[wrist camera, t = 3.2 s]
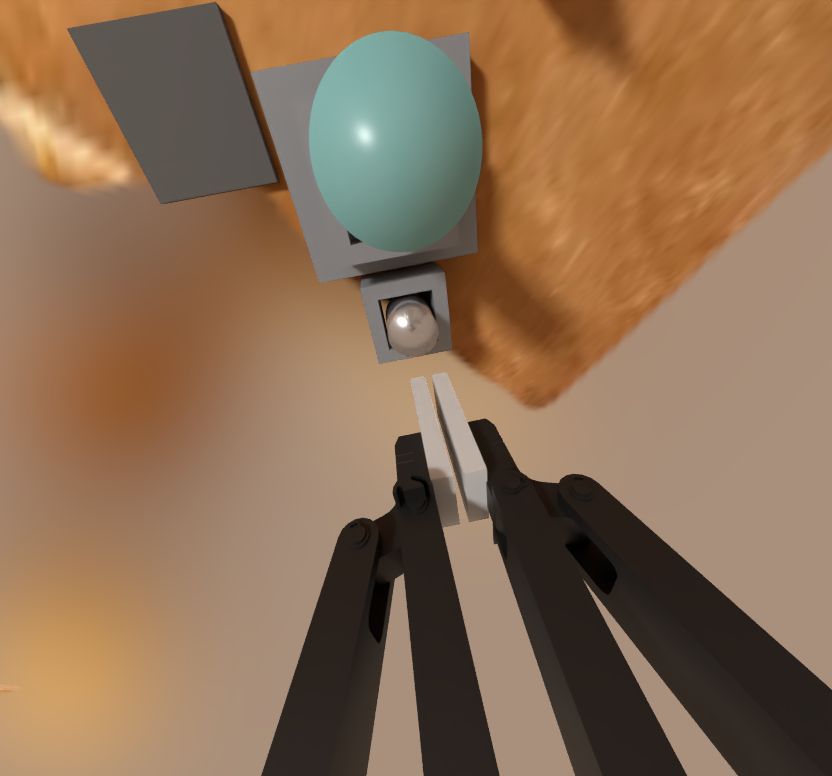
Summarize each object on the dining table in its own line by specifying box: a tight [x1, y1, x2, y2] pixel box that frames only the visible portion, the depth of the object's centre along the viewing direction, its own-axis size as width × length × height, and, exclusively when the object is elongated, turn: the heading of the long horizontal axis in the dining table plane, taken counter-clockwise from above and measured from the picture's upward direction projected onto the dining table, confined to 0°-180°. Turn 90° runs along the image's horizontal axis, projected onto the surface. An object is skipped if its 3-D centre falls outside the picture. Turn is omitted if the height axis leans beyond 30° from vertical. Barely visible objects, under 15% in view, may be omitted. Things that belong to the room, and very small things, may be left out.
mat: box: [67, 2, 279, 204], centre depth 20 cm, size 9×9×1 cm
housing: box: [251, 32, 478, 364], centre depth 23 cm, size 20×14×6 cm
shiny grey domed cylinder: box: [386, 293, 439, 357], centre depth 25 cm, size 4×4×5 cm
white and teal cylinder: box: [309, 31, 483, 252], centre depth 16 cm, size 5×5×16 cm
